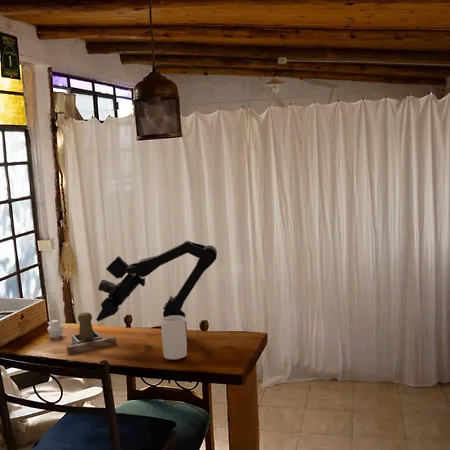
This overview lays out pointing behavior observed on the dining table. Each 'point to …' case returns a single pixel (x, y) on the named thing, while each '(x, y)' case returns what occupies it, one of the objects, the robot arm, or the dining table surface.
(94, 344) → the door edge strip
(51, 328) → the white vase
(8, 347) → the dining table surface
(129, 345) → the dining table surface
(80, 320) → the olive brown shaker
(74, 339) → the collar
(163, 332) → the cup
